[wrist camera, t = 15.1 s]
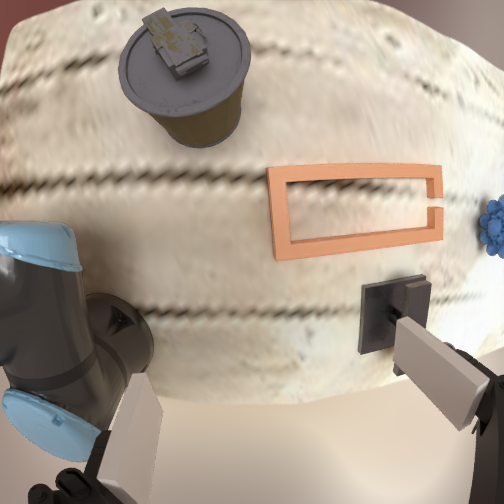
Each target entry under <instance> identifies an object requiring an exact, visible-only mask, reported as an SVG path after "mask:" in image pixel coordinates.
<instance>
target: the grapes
mask: <svg viewBox="0 0 504 504" xmlns="http://www.w3.org/2000/svg"><path fill="white" fill-rule="evenodd" d="M480 226H481V227H482V228H483V229H484V230H483V231H482V232H481V234H480V241H481V243H483V244H484V245H485V244H488V245H487V248H486V251H487V253H488V255H490V256H494V255H496V254H497V253H498V255H499V257H501V258H502V259H504V194H503V195H501V196H500V197H499V199H498V202H497V201H496V200H491V201H490V202H489V203H488V204H487V213H486V214H483V215H482V216H481V218H480Z"/></svg>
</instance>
